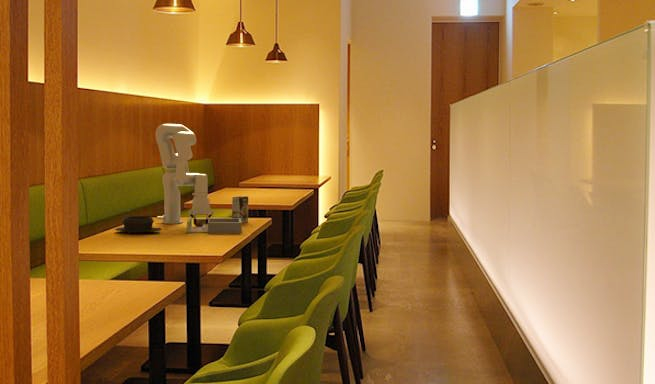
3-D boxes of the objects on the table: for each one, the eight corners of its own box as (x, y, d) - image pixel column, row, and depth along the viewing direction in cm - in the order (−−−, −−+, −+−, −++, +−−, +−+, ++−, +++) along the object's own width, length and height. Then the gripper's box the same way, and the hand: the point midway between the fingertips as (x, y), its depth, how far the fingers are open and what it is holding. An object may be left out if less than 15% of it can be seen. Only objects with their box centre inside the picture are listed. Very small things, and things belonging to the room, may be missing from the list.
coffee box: (240, 223, 448) (240, 197, 447) (231, 223, 451) (231, 196, 449) (248, 222, 456) (248, 196, 455) (239, 221, 459) (239, 195, 458)
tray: (186, 232, 404) (186, 221, 404) (189, 227, 424) (189, 217, 424) (222, 232, 407) (222, 221, 406) (223, 227, 427) (223, 217, 426)
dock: (207, 233, 406) (207, 222, 405) (209, 228, 425) (209, 218, 425) (241, 233, 408) (241, 222, 408) (241, 228, 428) (241, 218, 427)
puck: (195, 227, 430) (195, 219, 429) (196, 226, 435) (196, 218, 435) (206, 227, 430) (206, 219, 430) (206, 226, 436) (206, 218, 436)
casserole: (165, 231, 413) (165, 216, 412) (155, 235, 395) (154, 220, 394) (122, 229, 415) (122, 215, 415) (109, 234, 397) (109, 219, 396)
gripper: (185, 195, 426) (185, 226, 428) (215, 195, 429) (215, 226, 430) (186, 194, 434) (186, 224, 435) (216, 194, 436) (216, 224, 438)
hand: (201, 225), depth 433 cm, fingers closed on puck, 6 cm apart
